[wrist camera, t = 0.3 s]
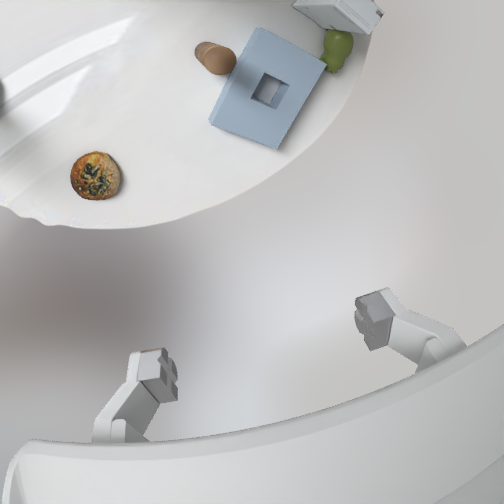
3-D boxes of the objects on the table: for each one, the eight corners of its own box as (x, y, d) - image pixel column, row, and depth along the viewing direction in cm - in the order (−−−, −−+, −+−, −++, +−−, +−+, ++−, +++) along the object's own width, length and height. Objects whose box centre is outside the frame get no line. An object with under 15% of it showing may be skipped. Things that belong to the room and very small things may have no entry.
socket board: (256, 28, 42) (262, 28, 39) (317, 61, 49) (326, 64, 46) (208, 118, 53) (211, 125, 50) (270, 142, 60) (276, 149, 57)
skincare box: (290, 6, 40) (329, 4, 30) (307, -15, 37) (349, -22, 27) (325, 30, 44) (369, 37, 34) (340, 9, 41) (387, 12, 31)
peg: (200, 38, 42) (213, 42, 30) (221, 46, 43) (241, 53, 32) (191, 57, 44) (200, 69, 32) (211, 65, 46) (227, 79, 34)
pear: (361, 34, 41) (347, 78, 49) (347, 28, 44) (335, 69, 52) (336, 27, 40) (322, 73, 47) (323, 21, 43) (311, 65, 51)
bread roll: (64, 187, 53) (60, 198, 49) (84, 140, 49) (80, 147, 46) (108, 205, 60) (108, 216, 56) (131, 160, 56) (131, 169, 52)
